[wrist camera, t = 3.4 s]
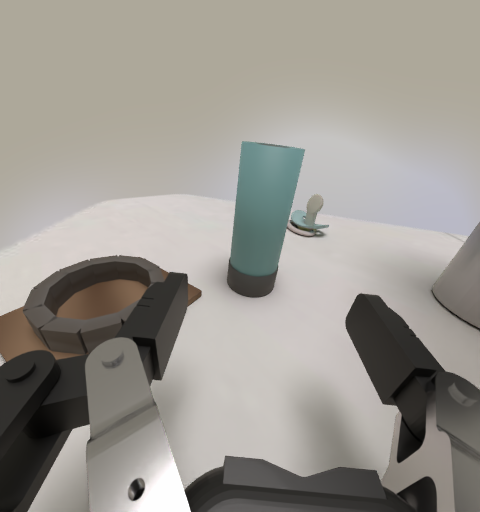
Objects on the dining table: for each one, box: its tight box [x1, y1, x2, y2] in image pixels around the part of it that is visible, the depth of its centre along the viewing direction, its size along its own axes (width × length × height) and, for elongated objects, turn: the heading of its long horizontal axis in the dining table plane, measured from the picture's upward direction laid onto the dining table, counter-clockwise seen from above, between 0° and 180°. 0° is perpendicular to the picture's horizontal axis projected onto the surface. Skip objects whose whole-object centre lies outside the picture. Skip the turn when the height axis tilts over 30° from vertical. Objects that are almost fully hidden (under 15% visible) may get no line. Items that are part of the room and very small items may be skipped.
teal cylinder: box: [227, 142, 305, 297], centre depth 19 cm, size 5×5×13 cm
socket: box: [0, 255, 201, 362], centre depth 17 cm, size 12×9×3 cm
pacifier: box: [287, 194, 329, 236], centre depth 36 cm, size 7×6×6 cm
